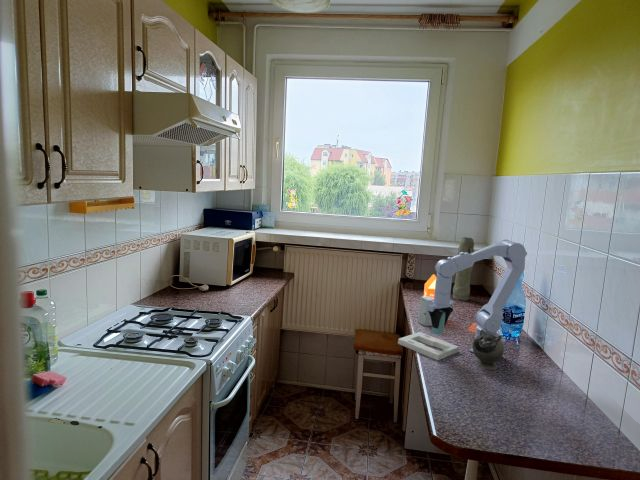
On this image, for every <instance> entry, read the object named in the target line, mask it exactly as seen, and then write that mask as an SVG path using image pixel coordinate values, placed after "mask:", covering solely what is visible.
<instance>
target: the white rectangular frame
mask: <svg viewBox="0 0 640 480" xmlns="http://www.w3.org/2000/svg"><path fill="white" fill-rule="evenodd" d="M397 344H398V345H400V346H403V347H405V348H407V349H410V350H412V351H414V352H417V353H418V354H421V355H424V356H425V357H428V358H431V359H434V360H436V361H439V360H442V359H445V358H448V357H450V356H452V355H454V354H457V353H458V352H459V351H460V350H459V348H460V346H457V345H455V344H452V343H449V342H447V341H445V340H442V339H439V338H437V337H434V336H431V335H429V334H426V333H423V332H421V331H418V332H414V333H412V334H409V335H405V336H403V337H400V338H398V341H397ZM427 345H429V346H427ZM432 347H435V348H437V349H440V351H439V350H437V349H434V348H432Z"/></svg>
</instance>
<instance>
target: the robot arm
mask: <svg viewBox="0 0 640 480" xmlns="http://www.w3.org/2000/svg"><path fill="white" fill-rule="evenodd" d="M459 254H460V255H458V254H457V255H454V256H452V257H451V256H448V257H447V258H446V259H445V258H444V259H440V260H439V261H437V262H436V265H434V270H435V272H436V275H435V276H436V284H435V293H434V300H432V301H431V304H430V305H428V312H429V314H430V317H431V322H432V325H431V328H432V327H433V328H436V329H438V327H439V322H440V319H441V316H442V314H443V312H445V313H446V314H445V323H444V327H446V325H447V322H448V320H449V318H450V316H451V314H452V313H453V312H454V308H453V307H454V305H455V301H454V300H453V299H451V291H452V284H453V277H454V275H456V272H459V271H461V270H464V269H467V268H469V267H472V266H473V267H474V264H475V263H476V262H478V261H482V260H485V259H488V258H492V257H495V256H496V257H502V259H504V262H505V264H506V269H505V272H504V273H503V275H502V276H501V278H500V279H499V282H498V284H497V286H496V288H494V289H495V290H494V292H492V295H491V297H490V298H489V301H488V302H487V303H485V304H484V305H482V307H481V308H480V309H479V310H478V311H477V312H476V313H475V315H474V321H475V323H476V328H475V336H474V339H475V338H476V337H477V336H479V335H480V332H481V329H482V330H483V331H484V332H485V333H490V334H493V335H495V336H497V337H498V336H501V337H502V338H501V341H502V343H503V344H504V337H503V335H502V334H499V331H500V329H501V326H502V322H503V321H502V320H503V318H504V317H503V309H504V307H505V306H506V304H507V302H508V300H509V298H510V296H511V295H512V292H513V291H514V289H515V287H516V286H517V284H518V282H519V280H520V278H521V277H522V274H523V273H524V271H525V269H526V257H527V255H528V252H527V249H526V248H525V246H524V245H523V244H521V243H520V242H514V241H511V240H509V239H503V240H500V241H496V242H494V243H493V244H490V245H488V246H486V247H482V248H481V249H479V250H478V249H477V250H476V251H474V253H471V254H469V253H467V252H465V253H464V252H460V253H459ZM441 311H443V312H441ZM468 351H469V352H472V353H474V352H473V347H472V348H470V349H469V350H468Z"/></svg>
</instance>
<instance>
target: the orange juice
mask: <svg viewBox="0 0 640 480" xmlns="http://www.w3.org/2000/svg"><path fill="white" fill-rule="evenodd" d="M436 276H437V275H436V274H434V273H433V274H432V275H431V276H430V277H429V279H428V280H427V281H426V282H425V283H424V289H423V296H429V297H431V298H433V299H434V293H435V284H436Z"/></svg>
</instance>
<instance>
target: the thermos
mask: <svg viewBox="0 0 640 480" xmlns="http://www.w3.org/2000/svg"><path fill="white" fill-rule="evenodd" d="M460 252H464V253H465V252H467V253H469V254H471V253H474V252H475V241H474V239H473V238H472V237H466V236H465V237H464V236H463V237H461V239H460V241H459V246H458V252H457V255H460V254H459V253H460ZM473 268H474V265H473V266H472V267H469V268H467V269H464V270H461V271H459V272H456V273H455V280H454V285H453V288H452V298H453V300H456V301H460V300H461V301H462V302H467V300H468V301H469V298H470V294H471V286H470V285H471V276H472V270H473ZM461 301H460V302H461Z"/></svg>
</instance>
